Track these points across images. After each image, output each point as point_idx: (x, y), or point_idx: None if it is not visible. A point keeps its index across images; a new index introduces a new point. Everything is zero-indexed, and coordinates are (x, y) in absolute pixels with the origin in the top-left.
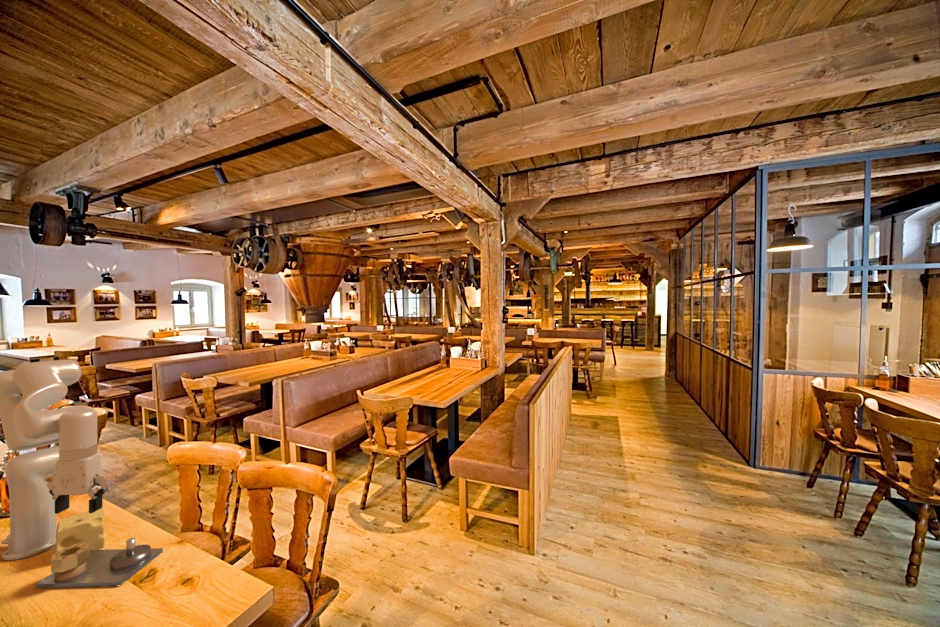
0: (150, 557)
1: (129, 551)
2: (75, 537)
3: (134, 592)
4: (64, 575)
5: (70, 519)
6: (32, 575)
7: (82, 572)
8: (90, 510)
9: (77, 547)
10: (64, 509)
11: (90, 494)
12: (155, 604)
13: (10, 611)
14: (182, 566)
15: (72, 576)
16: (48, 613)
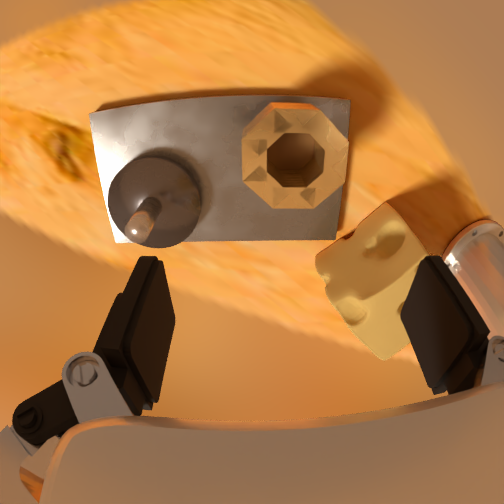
0: (107, 207)
1: (140, 205)
2: (379, 258)
3: (43, 102)
4: None
5: None
6: (406, 157)
7: None
8: (138, 269)
9: (295, 186)
10: (410, 295)
11: (98, 407)
12: None
13: (317, 17)
14: (27, 191)
15: None
16: (190, 8)
